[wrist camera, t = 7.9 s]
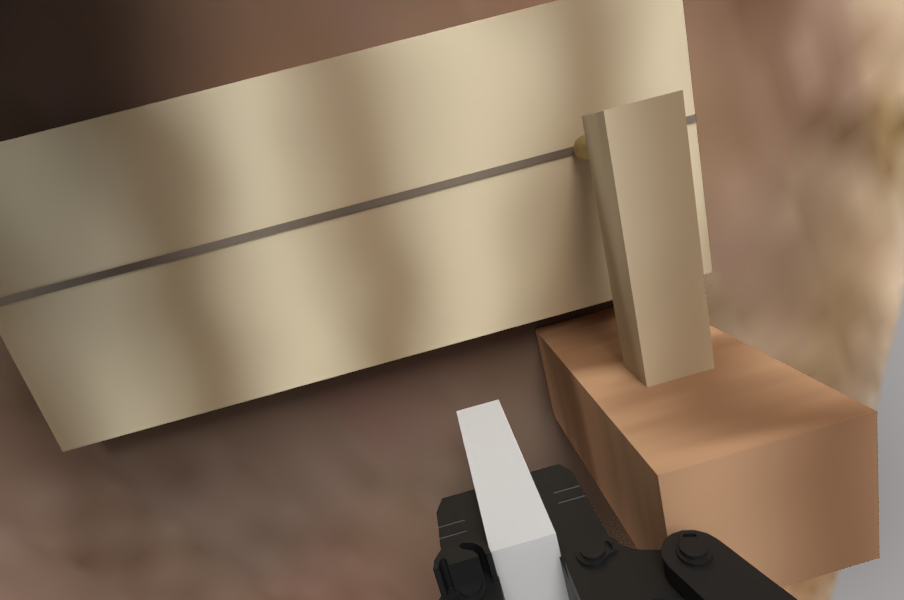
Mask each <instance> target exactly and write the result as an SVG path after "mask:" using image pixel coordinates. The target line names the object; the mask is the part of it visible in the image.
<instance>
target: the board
mask: <svg viewBox="0 0 904 600" xmlns="http://www.w3.org/2000/svg"><path fill="white" fill-rule="evenodd" d="M680 90H683V96H684V105H685V113H686V122H687V131H688V140H689V148H690V157H691V166H692V174H693V183H694V192H695V201H696V209H697V218H698V227H699V236H700V244H701V253H702V262H703V271H704V274H708V273H711V272H712V266H711V257H710V248H709V239H708V229H707V220H706V211H705V202H704V193H703V184H702V175H701V166H700V156H699V147H698V138H697V129H696V121H697V120H696V114H695V111H694V102H693V93H692V83H691V74H690V65H689V56H688V47H687V38H686V29H685V20H684V10H683V1H682V0H558V1H554V2H550V3H546V4H542V5H538V6H534V7H530V8H526V9H522V10H518V11H514V12H511V13H507V14H503V15H499V16H495V17H491V18H487V19H483V20H479V21H475V22H471V23H467V24H463V25H459V26H455V27H451V28H447V29H444V30H440V31H436V32H432V33H428V34H424V35H420V36H416V37H412V38H408V39H404V40H400V41H396V42H392V43H388V44H384V45H380V46H377V47H373V48H369V49H365V50H361V51H357V52H353V53H349V54H345V55H341V56H337V57H333V58H329V59H325V60H321V61H317V62H313V63H310V64H306V65H302V66H298V67H294V68H290V69H286V70H282V71H278V72H274V73H270V74H266V75H262V76H258V77H254V78H250V79H247V80H243V81H239V82H235V83H231V84H227V85H223V86H219V87H215V88H211V89H207V90H203V91H199V92H195V93H191V94H187V95H183V96H180V97H176V98H172V99H168V100H164V101H160V102H156V103H152V104H148V105H144V106H140V107H136V108H132V109H128V110H124V111H120V112H116V113H113V114H109V115H105V116H101V117H97V118H93V119H89V120H85V121H81V122H77V123H73V124H69V125H65V126H61V127H57V128H53V129H50V130H46V131H42V132H38V133H34V134H30V135H26V136H22V137H18V138H14V139H10V140H6V141H2V142H0V336H1V338H2V340H3V341H4V343H5V345H6V347H7V349H8V351H9V353H10V354H11V356H12V358H13V360H14V362H15V364H16V366H17V368H18V369H19V371H20V373H21V375H22V377H23V379H24V381H25V382H26V384H27V386H28V388H29V390H30V392H31V394H32V396H33V397H34V399H35V401H36V403H37V405H38V407H39V409H40V410H41V412H42V414H43V416H44V418H45V420H46V422H47V424H48V425H49V427H50V429H51V431H52V433H53V435H54V437H55V438H56V440H57V442H58V444H59V446H60V448H61V450H62V451H63V452H64V451H68V450H72V449H75V448H79V447H82V446H86V445H90V444H93V443H97V442H100V441H104V440H108V439H111V438H115V437H119V436H122V435H126V434H129V433H133V432H137V431H140V430H144V429H147V428H151V427H155V426H158V425H162V424H166V423H169V422H173V421H176V420H180V419H184V418H187V417H191V416H194V415H198V414H202V413H205V412H209V411H213V410H216V409H220V408H223V407H227V406H231V405H234V404H238V403H241V402H245V401H249V400H252V399H256V398H260V397H263V396H267V395H270V394H274V393H278V392H281V391H285V390H288V389H292V388H296V387H299V386H303V385H307V384H310V383H314V382H317V381H321V380H325V379H328V378H332V377H335V376H339V375H343V374H346V373H350V372H354V371H357V370H361V369H364V368H368V367H372V366H375V365H379V364H382V363H386V362H390V361H393V360H397V359H401V358H404V357H408V356H411V355H415V354H419V353H422V352H426V351H429V350H433V349H437V348H440V347H444V346H448V345H451V344H455V343H458V342H462V341H466V340H469V339H473V338H476V337H480V336H484V335H487V334H491V333H495V332H498V331H502V330H505V329H509V328H513V327H516V326H520V325H523V324H527V323H531V322H534V321H538V320H542V319H545V318H549V317H552V316H556V315H560V314H563V313H567V312H570V311H574V310H578V309H581V308H585V307H589V306H592V305H596V304H599V303H603V302H607V301H610V300H613V298H612V292H611V286H610V281H609V275H608V269H607V263H606V257H605V251H604V245H603V239H602V233H601V227H600V221H599V216H598V210H597V204H596V198H595V192H594V186H593V180H592V174H591V168H590V162H589V160H580V159H578V158H577V157H576V155H575V154H574V150H573V147H574V143H575V141H576V140H577V138H579V137H580V136H582V135H585V133H584V127H583V121H582V116H584V115H588V114H592V113H596V112H599V111H603V110H607V109H611V108H615V107H618V106H622V105H626V104H630V103H634V102H637V101H641V100H645V99H649V98H653V97H657V96H661V95H664V94H668V93H672V92H676V91H680Z"/></svg>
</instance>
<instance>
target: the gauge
mask: <svg viewBox="0 0 904 600" xmlns="http://www.w3.org/2000/svg"><path fill="white" fill-rule="evenodd" d="M582 121H583V127H584V133H585V135H582V136H580V137H579V138H577V140H576V141H575V143H574V147H573V150H574V154H575V155H576V157H577V158H578V159H580V160H589V162H590V168H591V174H592V180H593V186H594V192H595V198H596V204H597V210H598V216H599V221H600V227H601V233H602V239H603V245H604V251H605V257H606V263H607V269H608V275H609V281H610V286H611V292H612V298H613V304H614V307H612V308H609V309H605V310H602V311H598V312H594V313H591V314H587V315H584V316H580V317H576V318H573V319H569V320H566V321H562V322H558V323H555V324H551V325H548V326H544V327H540V328H537V329H535V332H536V336H537V341H538V345H539V350H540V355H541V359H542V364H543V368H544V373H545V377H546V382H547V387H548V391H549V396H550V400H551V405H552V410H553V414H554V417H555V418H556V420H557V421H558V423H559V425H560V426H561V428H562V429H563V431H564V433H565V434H566V436H567V437H568V439H569V441H570V442H571V444H572V445H573V447H574V449H575V450H576V452H577V453H578V455H579V457H580V458H581V460H582V461H583V463H584V465H585V466H586V468H587V469H588V471H589V473H590V474H591V476H592V477H593V479H594V481H595V482H596V484H597V485H598V487H599V489H600V490H601V492H602V493H603V495H604V497H605V498H606V500H607V501H608V503H609V504H610V506H611V508H612V509H613V511H614V512H615V514H616V516H617V517H618V519H619V520H620V522H621V524H622V525H623V527H624V528H625V530H626V532H627V533H628V535H629V536H630V538H631V540H632V541H633V543H634V544H635V546H636V548H637V549H640V550H661V547H662V544H663V541H664V540H665V539H666V538H667V537H668V536H669V535H671V534H672V533H675V532H678V531H681V530H697V531H701V532H705V533H708V534H710V535H712V536H713V537H715V538H717V539H719V540H720V541H721V542H723V543H724V544H725V545H727V546H728V547H729V548H730V549H732V550H733V551H734V552H736V553H737V554H738V555H740V556H741V557H742V558H743V559H745V560H746V561H747V562H749V563H750V564H751V565H753V566H754V567H755V568H756V569H758V570H759V571H760V572H762V573H763V574H764V575H766V576H767V577H768V578H770V579H771V580H772V581H773V582H775V583H776V584H777V585H779V586H780V587H784V586H787V585H791V584H794V583H797V582H801V581H804V580H807V579H811V578H814V577H817V576H821V575H824V574H827V573H831V572H834V571H837V570H841V569H844V568H847V567H851V566H853V565H857V564H860V563H864V562H867V561H870V560H873V559H877V558H880V557H879V500H878V499H879V497H878V440H877V411H875V410H873V409H871V408H869V407H867V406H865V405H863V404H861V403H859V402H857V401H855V400H853V399H852V398H850V397H848V396H846V395H844V394H842V393H840V392H838V391H836V390H834V389H832V388H830V387H828V386H826V385H824V384H822V383H821V382H819V381H817V380H815V379H813V378H811V377H809V376H807V375H805V374H803V373H801V372H799V371H797V370H795V369H793V368H792V367H790V366H788V365H786V364H784V363H782V362H780V361H778V360H776V359H774V358H772V357H770V356H768V355H766V354H764V353H762V352H761V351H759V350H757V349H755V348H753V347H751V346H749V345H747V344H745V343H743V342H741V341H739V340H737V339H735V338H733V337H732V336H730V335H728V334H726V333H724V332H722V331H720V330H718V329H716V328H714V327H712V326H710V323H709V314H708V305H707V297H706V288H705V279H704V271H703V262H702V253H701V244H700V236H699V227H698V218H697V209H696V201H695V192H694V183H693V174H692V166H691V157H690V148H689V140H688V131H687V122H686V113H685V105H684V96H683V90H680V91H676V92H672V93H668V94H664V95H661V96H657V97H653V98H649V99H645V100H641V101H637V102H634V103H630V104H626V105H622V106H618V107H615V108H611V109H607V110H603V111H599V112H596V113H592V114H588V115H584V116H582Z"/></svg>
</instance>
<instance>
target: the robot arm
mask: <svg viewBox="0 0 904 600" xmlns="http://www.w3.org/2000/svg"><path fill="white" fill-rule="evenodd" d="M456 412H457V416H458V420H459V425H460V429H461V433H462V437H463V441H464V445H465V450H466V454H467V458H468V462H469V466H470V471H471V475H472V479H473V483H474V487H475V489H474V490H471V491H467V492H464V493H460V494H456V495H453V496H449V497H446V498H442V501H441V503H440V506H439V508H438V510H437V519H438V527H439V537H440V546H441V551H440V552H439V554H438V555H437V557H436V559H435V560H434V567H433V571H434V574H435V577H436V580H437V583H438V586H439V589H440V593H441V598H440V599H439V600H797V599H796V598H794V597H793V596H792V595H790V594H789V593H788V592H786V591H785V590H784V589H783V588H781V587H780V586H779V585H777V584H776V583H775V582H773V581H772V580H771V579H770V578H768V577H767V576H766V575H764V574H763V573H762V572H760V571H759V570H758V569H756V568H755V567H754V566H753V565H751V564H750V563H749V562H747V561H746V560H745V559H743V558H742V557H741V556H740V555H738V554H737V553H736V552H734V551H733V550H732V549H730V548H729V547H728V546H727V545H725V544H724V543H723V542H721V541H720V540H719V539H717V538H715V537H713V536H712V535H710V534H708V533H705V532H701V531H697V530H681V531H678V532H675V533H672V534H671V535H669V536H668V537H667V538H666V539H665V540H664V541H663V544H662V547H661V550H640V549H632V548H628V547H625V546H623V545H621V544H619V543H618V542H617V541H616V540H615V539H614V538H612V537H610V536H609V535H608V534H607V533H606V531H605V529H604V527H603V526H602V524H601V522H600V520H599V519H598V517H597V515H596V513H595V512H594V510H593V508H592V506H591V505H590V503H589V501H588V499H587V497H585V494H584V492H583V490H582V489H581V487H580V486H579V483H578V482H577V480H576V478H575V476H574V475H573V473H572V472H571V471H569V470H568V469H566V468H565V467H563V466H562V465H560V464H557V465H554V466H550V467H547V468H543V469H540V470H536V471H533V472H529V469H528V467H527V465H526V463H525V460H524V458H523V456H522V453H521V451H520V449H519V446H518V444H517V442H516V439H515V437H514V435H513V432H512V430H511V428H510V425H509V423H508V421H507V418H506V416H505V414H504V411H503V409H502V407H501V404H500V402H499V400H495V401H491V402H488V403H484V404H481V405H477V406H474V407H470V408H466V409H463V410H459V411H456Z"/></svg>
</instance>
